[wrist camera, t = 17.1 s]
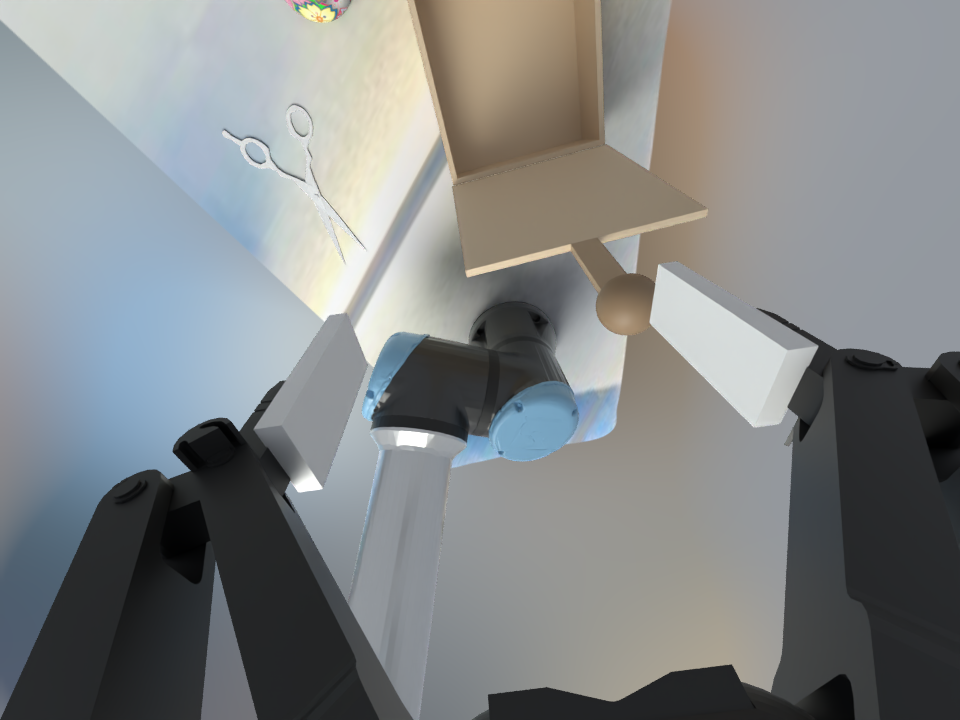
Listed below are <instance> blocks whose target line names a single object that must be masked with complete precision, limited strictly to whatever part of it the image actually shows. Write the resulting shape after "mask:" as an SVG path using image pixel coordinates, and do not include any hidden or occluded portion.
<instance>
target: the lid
mask: <svg viewBox="0 0 960 720" xmlns="http://www.w3.org/2000/svg"><path fill="white" fill-rule="evenodd" d="M452 188H453V195H454V201H455V208H456V214H457V221H458V227H459V233H460V240H461V246H462V253H463V259H464V266H465V271H466V275H467V277H471V276H475V275H479V274H483V273H487V272H491V271H495V270H499V269H503V268H507V267H511V266H515V265H519V264H523V263H527V262H530V261H534V260H538V259H542V258H546V257H550V256H554V255H558V254H562V253H566V252H570V251H571V252H572V254H573V255H574V257H575V258H576V260H577V261H578V263H579V264H580V266H581V268H582V269H583V271H584V272H585V274H586V275H587V277H588V278H589V280H590V281H591V283H592V285H593V286H594V288H595V289H596V291H597V292H598V297H597V300H596V312H597V316H598V318H599V320H600V322H601V323H602V324H603V326H604V327H606V328H607V329H608V330H610V331H611V332H613V333H616V334H620V335H635V334H638V333H641V332H643V331H645V330H646V329H648V328H649V327H651V326H652V325H651V324H650V323H649V322H650V316H651V309H652V303H653V296H654V290H655V283H654V282H653V281H652V280H651V279H649V278H647V277H646V276H643V275H640V274H634V273H629V274H627V273H626V272H625V271H624V270H623V268H622V267H621V266H620V265H619V263H618V262H617V261H616V260H615V259H614V257H613V256H612V255H611V254H610V252H609V251H608V250H607V249H606V248H605V246H604V245H603V244H602V243H606V242H610V241H613V240H617V239H621V238H625V237H629V236H633V235H637V234H641V233H645V232H649V231H653V230H657V229H661V228H664V227H669V226H672V225H677V224H681V223H685V222H689V221H693V220H696V219H700V218H704V217H707V213H708V208H706V207H705V206H703V205H702V204H699V203H698V202H697V201H695V200H694V199H692V198H690V197H689V196H687V195H686V194H684V193H682V192H681V191H679V190H678V189H676V188H675V187H673V186H672V185H670V184H668V183H667V182H665V181H664V180H662V179H661V178H659V177H657V176H656V175H654V174H652V173H651V172H650V171H648V170H646V169H645V168H643V167H642V166H640V165H639V164H637V163H635V162H634V161H632V160H631V159H629V158H627V157H626V156H624V155H623V154H621V153H620V152H618V151H616V150H615V149H613V148H612V147H610V146H609V145H607V144H606V145H602V146H598V147H595V148H591V149H587V150H584V151H580V152H576V153H573V154H569V155H566V156H562V157H558V158H555V159H551V160H547V161H544V162H540V163H536V164H533V165H529V166H525V167H522V168H518V169H514V170H511V171H507V172H503V173H500V174H496V175H492V176H489V177H485V178H481V179H478V180H474V181H470V182H467V183H463V184H459V185H456V186H452Z"/></svg>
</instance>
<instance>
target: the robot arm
mask: <svg viewBox="0 0 960 720" xmlns="http://www.w3.org/2000/svg"><path fill="white" fill-rule="evenodd" d="M649 323H650V324H651V325H652V326H653V327H654V328H655V329H656V330H657V331H658V332H659V333H660V334H661V335H662V336H663V337H664V338H665V339H666V340H667V341H668V342H669V343H670V344H671V345H672V346H673V347H674V348H675V349H676V350H677V351H678V352H679V353H680V354H681V355H682V356H683V357H684V358H685V359H686V360H687V361H688V362H689V363H690V364H691V365H692V366H693V367H694V368H695V369H696V370H697V371H698V372H699V373H700V374H701V375H702V376H703V377H704V378H705V379H706V380H707V381H708V382H709V383H710V384H711V385H712V386H713V387H714V388H715V389H716V390H717V391H718V392H719V393H720V394H721V395H722V396H723V397H724V398H725V399H726V400H727V401H728V402H729V403H730V404H731V405H732V406H733V407H734V408H735V409H736V410H737V411H738V412H739V413H740V414H741V415H742V416H743V417H744V418H745V419H746V420H747V421H748V422H749V423H750V424H751V425H752V426H753V427H762V426H769V425H776V424H780V423H781V421H782V419H783V417H784V415H785V413H786V411H787V409H788V408H789V409H790V410H791V411H792V412H794V413H795V414H796V415H797V416H798V419H797V421H796V423H795V425H794V427H793V429H792V431H791V433H790V435H789V436H788V439H787V440H786V442H785V444H784V445H786V446H789V445H790V444H791V442H793V450H792V472H791V490H790V491H791V492H790V510H789V531H788V551H787V571H786V590H785V611H784V631H783V649H782V656H781V661H780V664H779V667H778V669H777V672H776V675H775V677H774V681H773V686H772V690H771V693H770V692H768V691H765V690H763V689H761V688H758V687H755V686H752V685H749V684H747V683H743V682H741V681H740V679H739V677H738V675H737V673H736V672H735V670H734V668H733V666H732V665H724V666H716V667H708V668H700V669H692V670H684V671H675V672H670V673H669V674H667V675H665V676H663V677H661V678H660V679H658V680H656V681H654V682H652V683H651V684H649V685H647V686H645V687H643V688H641V689H639V690H638V691H636V692H634V693H632V694H630V695H629V696H627V697H625V698H623V699H621V700H619V701H615V702H610V701H605V700H601V699H596V698H592V697H587V696H582V695H578V694H574V693H570V692H565V691H561V690H556V689H551V688H547V687H546V688H538V689H530V690H522V691H514V692H505V693H497V694H489V695H488V701H489V710H487V711H485V712H483V713H481V714H480V715H478V716H477V717H475V718H474V719H473V720H960V352H947V353H943V354H941V355H940V356H939V357H938V359H937V360H936V361H935V363H934V364H933V366H932V367H931V368H911V367H902V366H901V365H900V364H899V363H898V362H896V361H895V360H893V359H891V358H889V357H887V356H884V355H881V354H879V353H875V352H871V351H867V350H860V349H840V350H837V349H835V348H833V347H832V346H830V345H828V344H826V343H825V342H823V341H821V340H819V339H818V338H816V337H814V336H813V335H811V334H809V333H807V332H806V331H804V330H800V328H799V327H797V326H795V325H794V324H792V323H788V321H786V320H785V319H783V318H781V317H780V316H778V315H776V314H774V313H771V312H768V311H765V310H762V309H758V308H754V307H753V306H751V305H750V304H748V303H746V302H744V301H742V300H741V299H739V298H738V297H736V296H734V295H733V294H731V293H729V292H728V291H726V290H724V289H723V288H721V287H719V286H718V285H716V284H714V283H712V282H711V281H709V280H708V279H706V278H704V277H703V276H701V275H699V274H698V273H696V272H694V271H693V270H691V269H689V268H687V267H686V266H684V265H683V264H681V263H679V262H678V261H676V262H669V263H663V264H659V265H658V271H657V277H656V284H655V290H654V296H653V303H652V309H651V316H650V322H649ZM555 350H556V335H555V331H554V328H553V326H552V324H551V322H550V320H549V319H548V317H547V316H546V315H545V314H544V313H543V312H542V311H541V310H540V309H538V308H536V307H535V306H533V305H530V304H527V303H522V302H508V303H503V304H499V305H496V306H494V307H492V308H490V309H489V310H487V311H486V312H484V313H483V314H482V315H481V316H480V317H479V318H478V319H477V320H476V322H475V323H474V325H473V327H472V329H471V331H470V335H469V345H468V344H464V343H459V342H455V341H450V340H445V339H441V338H436V337H431V336H430V335H428V334H424V335H419V334H412V333H406V332H398V333H395V334H394V335H392V336H391V337H390V338H389V339H388V340H387V342H386V343H385V345H384V347H383V349H382V351H381V353H380V355H379V357H378V360H377V362H376V365H375V367H374V370H373V373H372V375H371V378H370V381H369V385H368V390H367V392H366V396H365V399H364V402H363V407H362V415H363V417H364V418H366V419H367V420H368V421H373V422H372V427H371V431H370V435H371V437H372V438H373V440H374V441H375V443H376V444H377V446H378V448H379V451H380V453H379V457H378V462H377V467H376V472H375V476H374V481H373V485H372V490H371V495H370V499H369V504H368V509H367V514H366V518H365V523H364V528H363V533H362V537H361V542H360V546H359V551H358V556H357V560H356V565H355V570H354V575H353V580H352V584H351V589H350V593H349V598H348V603H347V602H346V600H345V598H344V596H343V595H342V593H341V591H340V589H339V587H338V585H337V583H336V582H335V580H334V578H333V576H332V574H331V573H330V571H329V569H328V567H327V565H326V564H325V562H324V560H323V558H322V556H321V555H320V553H319V551H318V549H317V547H316V545H315V544H314V542H313V540H312V538H311V536H310V534H309V533H308V531H307V529H306V527H305V525H304V524H303V522H302V520H301V518H300V516H299V515H298V513H297V511H296V509H295V507H294V505H293V504H292V502H291V500H290V499H289V497H288V496H287V494H286V493H285V490H286V488H287V486H288V484H289V482H290V481H291V482H292V484H293V485H294V486H295V488H296V489H297V490H298V492H305V491H311V490H319V489H323V487H324V485H325V482H326V479H327V476H328V474H329V471H330V468H331V465H332V462H333V460H334V457H335V455H336V452H337V449H338V446H339V443H340V440H341V438H342V435H343V433H344V430H345V427H346V424H347V422H348V419H349V416H350V413H351V411H352V408H353V405H354V402H355V399H356V397H357V394H358V391H359V389H360V386H361V383H362V380H363V378H364V375H365V372H366V370H367V366H368V364H367V362H366V359H365V357H364V354H363V352H362V349H361V347H360V344H359V342H358V339H357V337H356V334H355V332H354V329H353V327H352V324H351V322H350V319H349V317H348V314H347V313H343V314H336V315H330V316H329V317H328V318H327V320H326V321H325V323H324V324H323V326H322V327H321V329H320V331H319V332H318V333H317V335H316V336H315V338H314V339H313V341H312V342H311V344H310V345H309V347H308V348H307V350H306V351H305V353H304V354H303V356H302V357H301V359H300V360H299V362H298V363H297V365H296V366H295V368H294V369H293V371H292V372H291V374H290V375H289V377H288V378H287V380H285V381H280V382H279V383H278V384H276V385H275V386H274V387H273V388H271V389H270V390H269V391H268V392H267V394H266V395H265V396H264V398H263V399H262V400H261V404H259V405H258V406H257V408H256V409H255V410H254V411H255V412H254V413H252V415H251V416H250V417H249V419H248V420H247V422H246V423H245V424H244V426H243V427H242V429H241V430H240V431H238V430H237V429H236V427H235V426H234V425H233V423H232V422H231V421H230V420H228V419H227V418H216V419H211V420H208V421H206V422H203V423H201V424H198V425H197V426H195V427H194V428H192V429H190V430H188V431H187V432H186V433H185V434H184V435H183V436H182V437H180V438H179V439H178V441H177V442H176V443H175V445H174V448H173V453H174V454H175V455H176V456H177V457H178V458H179V459H180V460H181V461H182V462H183V463H184V464H185V465H186V466H187V467H188V468H189V469H190V470H191V471H189V472H187V473H184V474H181V475H178V476H176V477H173V478H170V479H167V478H166V477H165V476H164V475H163V474H162V473H161V472H159V471H158V470H146V471H143V472H139V473H137V474H134V475H132V476H130V477H128V478H126V479H124V480H122V481H121V482H120V483H118V484H116V485H115V486H114V487H113V488H112V489H111V490H110V491H109V492H108V493H107V494H106V495H105V496H104V497H103V498H102V500H101V501H100V502H99V504H98V506H97V508H96V510H95V512H94V515H93V517H92V519H91V521H90V523H89V526H88V528H87V530H86V532H85V534H84V537H83V539H82V541H81V543H80V545H79V548H78V550H77V552H76V554H75V556H74V559H73V561H72V563H71V565H70V567H69V570H68V572H67V574H66V576H65V578H64V581H63V583H62V585H61V587H60V589H59V592H58V594H57V596H56V598H55V600H54V603H53V605H52V607H51V609H50V612H49V614H48V616H47V618H46V620H45V623H44V625H43V627H42V629H41V631H40V633H39V636H38V638H37V640H36V642H35V645H34V647H33V649H32V651H31V653H30V656H29V658H28V660H27V662H26V665H25V667H24V669H23V671H22V673H21V675H20V677H19V680H18V682H17V684H16V686H15V688H14V691H13V693H12V695H11V697H10V699H9V702H8V704H7V706H6V708H5V711H4V713H3V715H2V717H1V719H0V720H201V708H202V699H203V688H204V677H205V667H206V657H207V645H208V635H209V625H210V614H211V604H212V593H213V582H214V572H215V562H217V566H218V570H219V574H220V578H221V581H222V585H223V589H224V593H225V596H226V600H227V604H228V608H229V612H230V615H231V619H232V623H233V626H234V631H235V634H236V638H237V642H238V646H239V650H240V653H241V657H242V661H243V665H244V668H245V672H246V676H247V680H248V684H249V687H250V691H251V695H252V699H253V703H254V706H255V710H256V714H257V718H258V720H419V716H420V708H421V700H422V692H423V685H424V677H425V669H426V661H427V653H428V645H429V638H430V630H431V622H432V614H433V606H434V599H435V590H436V583H437V575H438V567H439V560H440V559H439V558H440V552H441V544H442V536H443V528H444V520H445V513H446V505H447V497H448V489H449V481H450V474H451V466H452V460H453V459H454V457H455V456H456V455H458V454H459V453H460V452H461V451H463V450H464V449H465V448H466V446H467V438H468V434H469V435H475V436H481V437H488V438H489V441H490V444H491V446H492V447H493V449H494V450H495V451H498V454H499V455H500V456H502V457H504V458H506V459H509V460H513V461H531V460H536V459H540V458H543V457H545V456H548V455H549V454H550V453H552V452H555V451H557V450H558V449H560V448H561V447H562V446H563V445H565V444H566V443H567V442H568V440H569V439H570V438H571V437H572V435H573V434H574V432H575V430H576V428H577V425H578V419H579V412H578V408H577V405H576V402H575V398H574V393H573V391H572V389H571V388H570V386H569V384H568V382H567V380H566V378H565V376H564V374H563V372H562V370H561V368H560V366H559V364H558V362H557V360H556V358H555Z"/></svg>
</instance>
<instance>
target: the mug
mask: <svg viewBox="0 0 960 720" xmlns="http://www.w3.org/2000/svg"><path fill="white" fill-rule="evenodd" d="M285 1H286V2H287V3H288V4H289V6H290V7H291V8H292V9H293V10H295V11H296V12H297V13H298V14H300V15H301V16H303V17H304V18H306V19H309V20H311V21H314V22H321V23H324V22H330V21H333V20H335V19H337V18H339V17H340V16H341V15H342V14H343V13H344V12H345V11H346V9H347V8H348V6H349V4H350V2H351V0H285Z"/></svg>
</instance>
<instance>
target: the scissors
mask: <svg viewBox="0 0 960 720" xmlns="http://www.w3.org/2000/svg"><path fill="white" fill-rule="evenodd" d="M296 110H299V111H301V112H302V113H303V114H305V116H306V118H307V120H308V122H309V133H308V135H306V136H305V137H301V136H300V135H299V134H297V133H296V131H295V129H294V127H293V125H292V123H291V113H292V112H294V111H296ZM286 122H287V127H288V130H289V132H290V134H291V135H292V136H293V137H295V138H296V139H298V140H299V141H301V142H302V147H303V149H304V150H305V152H306V174H305V181H306V182H304V181H302V180H300V179H298V178H295V177H293V176H290V175H288V174H286V173H284V172H283V171H281V170H280V169H278V167H277V166H276V165H275V164H274V162H273V161H272V159H271V156H270V151H269V148H268V147H267V146H266V145H265V144H263V143H262V142H260V141H258V140H256V139H253V138H246V139H244V140H242V141H241V140H239V139H237V138H235V137H233V136H232V135H231V134H230V133H228V132H227V131H226V130H224V131H223V132H222V135H223V136H224V137H225V138H229V139H231V140H232V141H234V142H235V143H236V144H238V145H240V150H241V152H242V154H243V156H244V158H245V159H246V160H247V161H248V162H249V163H250V164H251V165H252V166H255V167H257V168H262V169H265V168H270V169H273V170H275V171H277V172H278V174H279V175H280V176H281V177H284V178H289V179H291V180H293V181H295V183H296V184H297V185H298V186H299V187H300V188H301V189H302V190H303V191H304V192H305V193H306V194H307V195H308V196H309V197H310V198H311V199H312V200H313V201H314V204H315V206H316V208H317V210H318V212H319V214H320V217H321V219H322V221H323V223H324V225H325V227H326V229H327V231H328V233H329V235H330V237H331V239H332V241H333V243H334V245H335V247H336V249H337V251H338V253H339V255H340V256H341V258H342V260H343V261H344V259H343V256H342V253H341V250H340V247H339V244H338V241H337V238H336V236H335V233H334V230H333V227H332V224H331V221H330V218H329V216H330V217H331V218H332V219H333V220H334V221H335V222H336V223H337V224H338V225H339V226H340V227H341V228H342V229H343V230H344V231H345V232H346V233H347V234H348V235H350V236H351V237H352V238H353V239H354V240H355V241H356V242H357V243H358V244H359V245H360V246H361V247H362V248H363V249H365V248H364V247H363V246H362V245H361V243H360V242H359V241H358V240H357V238H356V237H355V236H354V235H353V233H352V232H351V231H350V229H349V228H348V227H347V226H346V224H345V223H344V222H343V221H342V219H341V218H340V217H339V216H338V214H337V213H336V212H335V211H334V210H333V208H332V207H331V206H330V205H329V204H328V202H327V201H326V200H325V199H324V198H323V197H322V196H321V194H320V191H319V189H318V186H317V184H316V182H315V179H314V176H313V173H312V171H311V166H310V163H311V160H312V157H311V155H310V153H309V151H308V145H309V142H310V140H311V138H312V136H313V124H312V120H311V118H310V116H309V114H308V113H307V112H306V111H305V110H304V109H303V108H301V107H299V106H296V105H293V106H291V107H289V108H288V110H287V113H286ZM250 142H253V143H255V144H257V145H258V146H259V147H260V148H261V149H262V150H263V152H264V153H265V155H266V162H265V163H263V164H258V163H256V162H254V161H253V160H252V159H251V158H250V157H249V155H248V154H247V152H246V145H247V144H248V143H250ZM328 215H329V216H328ZM344 263H345V262H344Z"/></svg>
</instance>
